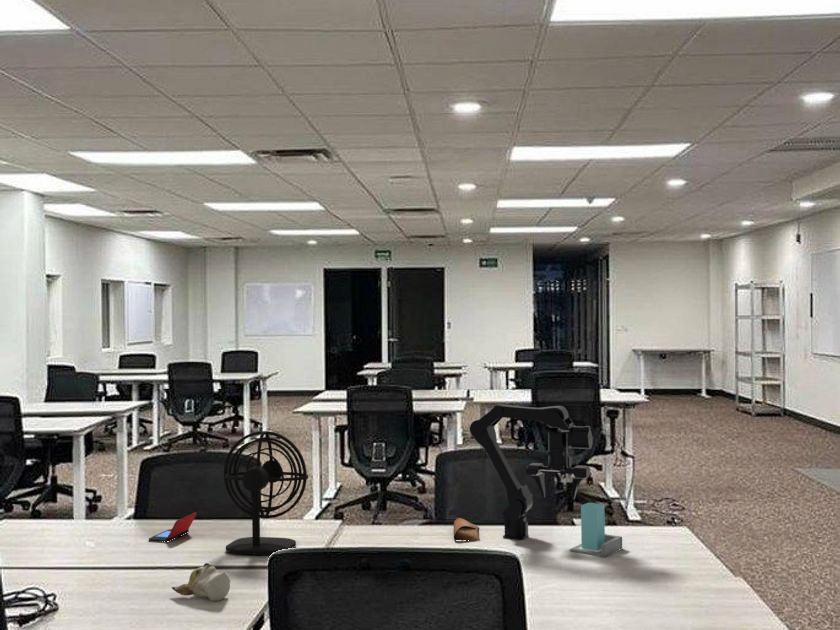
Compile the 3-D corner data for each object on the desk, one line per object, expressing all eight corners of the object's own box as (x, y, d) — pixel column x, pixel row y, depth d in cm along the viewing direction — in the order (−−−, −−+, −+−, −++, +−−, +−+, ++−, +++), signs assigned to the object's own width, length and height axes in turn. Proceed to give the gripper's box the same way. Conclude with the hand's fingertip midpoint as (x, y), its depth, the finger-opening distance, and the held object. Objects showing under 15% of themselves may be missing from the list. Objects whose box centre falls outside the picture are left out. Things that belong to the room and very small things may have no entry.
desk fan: (315, 542, 264) (313, 429, 264) (295, 557, 247) (293, 437, 247) (233, 539, 270) (231, 428, 270) (208, 554, 253) (207, 435, 253)
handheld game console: (168, 532, 280) (168, 509, 280) (198, 534, 278) (197, 511, 278) (146, 542, 268) (146, 518, 268) (177, 544, 265) (176, 520, 265)
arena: (570, 551, 250) (569, 539, 250) (587, 542, 258) (587, 531, 258) (605, 557, 243) (604, 544, 243) (622, 548, 252) (622, 536, 252)
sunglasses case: (481, 541, 262) (470, 522, 262) (462, 553, 262) (450, 534, 262) (479, 527, 280) (468, 509, 280) (461, 538, 280) (450, 520, 280)
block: (581, 548, 250) (580, 505, 250) (589, 544, 254) (588, 502, 254) (597, 550, 247) (596, 507, 247) (604, 547, 251) (604, 504, 251)
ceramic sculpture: (207, 571, 205) (168, 565, 214) (209, 607, 205) (170, 600, 214) (241, 561, 214) (202, 555, 223) (243, 596, 213) (203, 589, 222)
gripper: (594, 445, 265) (594, 495, 265) (536, 442, 273) (536, 491, 273) (585, 450, 255) (586, 502, 255) (525, 447, 263) (526, 498, 263)
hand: (558, 498), depth 261 cm, fingers open, 9 cm apart
